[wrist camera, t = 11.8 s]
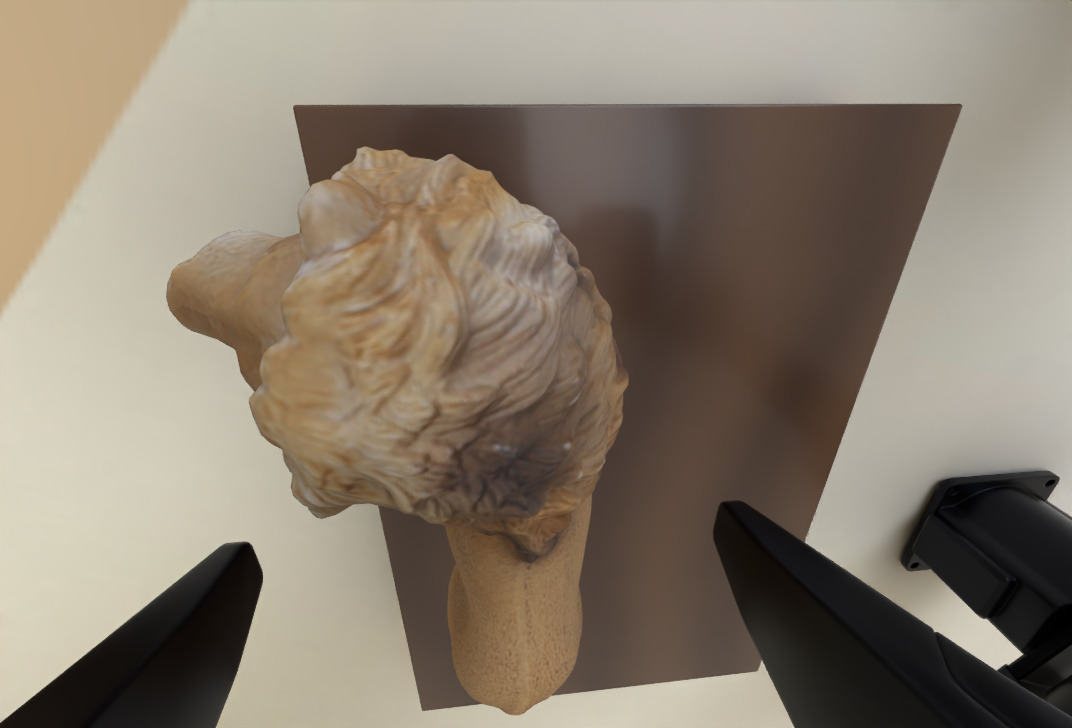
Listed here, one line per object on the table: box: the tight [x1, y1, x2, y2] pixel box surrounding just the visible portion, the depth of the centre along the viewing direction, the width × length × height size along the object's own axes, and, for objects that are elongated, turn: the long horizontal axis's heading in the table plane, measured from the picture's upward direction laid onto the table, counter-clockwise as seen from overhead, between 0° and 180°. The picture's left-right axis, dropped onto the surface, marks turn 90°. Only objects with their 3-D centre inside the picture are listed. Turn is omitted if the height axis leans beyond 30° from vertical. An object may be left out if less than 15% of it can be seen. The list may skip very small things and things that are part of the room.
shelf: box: [293, 104, 962, 711], centre depth 18 cm, size 16×24×4 cm, turn 0°
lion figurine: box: [166, 147, 629, 715], centre depth 10 cm, size 15×5×9 cm, turn 11°
